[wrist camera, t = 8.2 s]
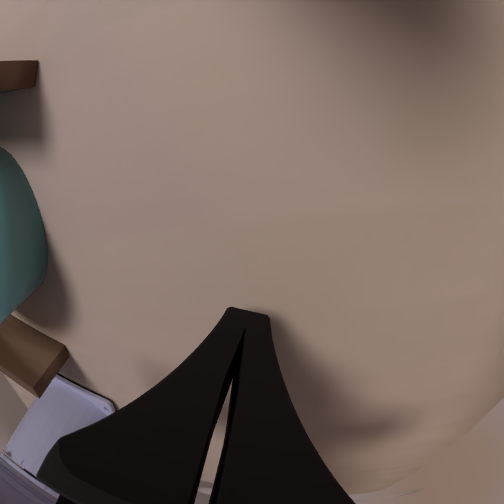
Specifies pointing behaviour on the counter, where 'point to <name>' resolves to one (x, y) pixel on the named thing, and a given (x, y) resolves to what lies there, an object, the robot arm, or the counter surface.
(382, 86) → the counter surface
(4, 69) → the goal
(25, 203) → the teal flat rounded lump
